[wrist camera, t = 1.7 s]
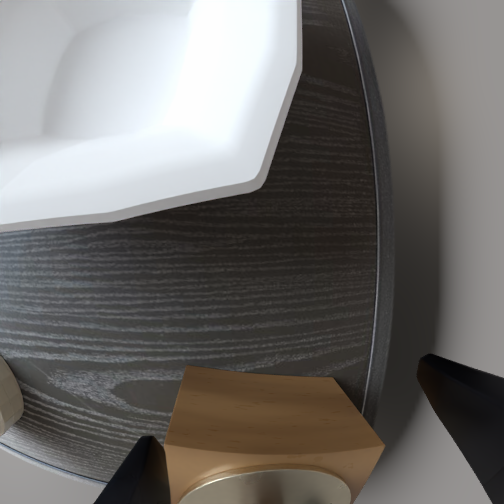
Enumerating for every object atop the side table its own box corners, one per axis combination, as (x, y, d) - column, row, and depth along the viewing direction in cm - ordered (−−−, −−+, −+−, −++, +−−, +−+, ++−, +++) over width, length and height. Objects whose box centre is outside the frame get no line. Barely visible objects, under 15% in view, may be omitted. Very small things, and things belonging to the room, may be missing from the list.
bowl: (273, -15, 18) (293, -94, 7) (261, 242, 19) (302, 248, 9) (54, 8, 16) (16, -44, 5) (-10, 229, 17) (-97, 230, 6)
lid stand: (301, 472, 21) (325, 542, 12) (180, 465, 20) (169, 541, 11) (332, 377, 20) (385, 445, 11) (186, 364, 19) (163, 444, 10)
